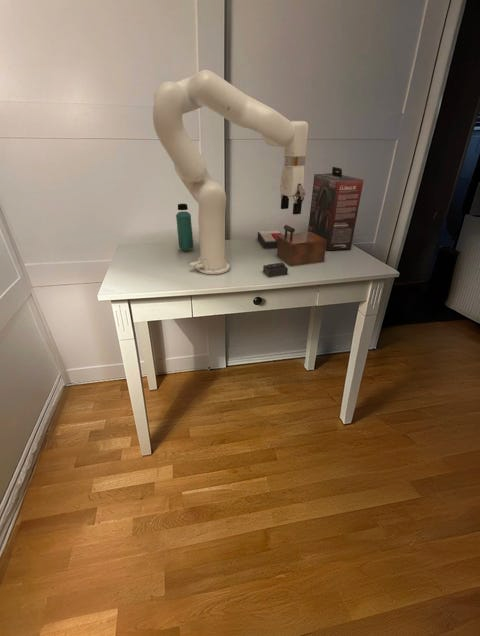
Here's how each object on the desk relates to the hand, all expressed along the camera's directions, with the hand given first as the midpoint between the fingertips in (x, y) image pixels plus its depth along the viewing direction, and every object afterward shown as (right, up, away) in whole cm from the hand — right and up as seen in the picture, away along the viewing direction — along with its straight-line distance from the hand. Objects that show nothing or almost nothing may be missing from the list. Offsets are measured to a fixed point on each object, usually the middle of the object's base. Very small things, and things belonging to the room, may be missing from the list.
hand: (290, 211), depth 120 cm
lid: (+6, -9, +8) cm, 13 cm away
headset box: (+23, -5, +32) cm, 40 cm away
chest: (+6, -16, +12) cm, 21 cm away
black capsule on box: (-6, -24, -2) cm, 25 cm away
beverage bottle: (-44, -11, +20) cm, 49 cm away
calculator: (-4, -5, +30) cm, 31 cm away
